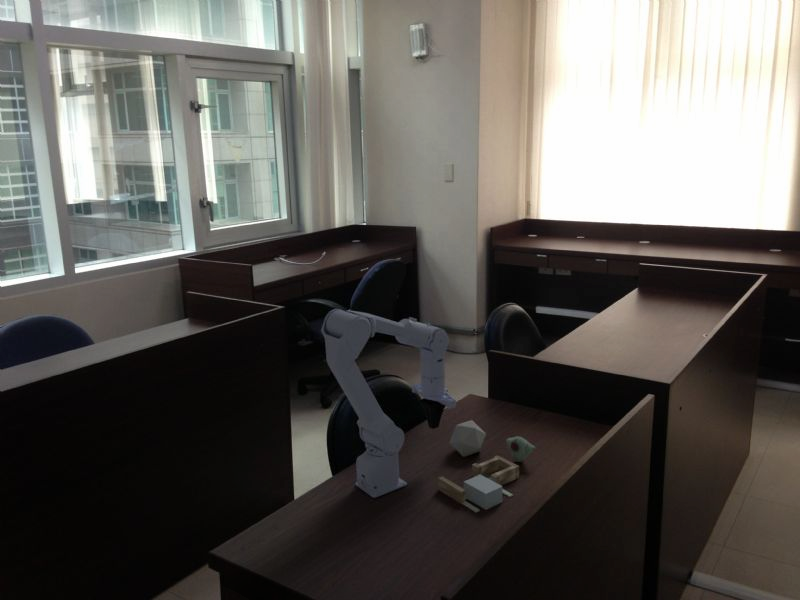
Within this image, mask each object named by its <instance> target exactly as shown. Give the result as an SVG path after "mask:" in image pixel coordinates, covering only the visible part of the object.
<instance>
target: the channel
mask: <svg viewBox="0 0 800 600" xmlns="http://www.w3.org/2000/svg"><path fill="white" fill-rule="evenodd" d="M478 475H482V476H484V477H486V478H488V479H490V480H492V481H493V482H495V483H497V484H499V485H501V486H504V485H506V484H509V483H511V482H513V481H514V480H515V481H516V480H517V479H519V478H520V465H518V464H516V463H514V462H512V461H510V460H508V459H506V458H504V457H502V456H500V455H497V454H496V455H495V456H493V458H490V459H489V460H486V461H483V462H481V463H477V462H475V463H473V464H471V476H472V478H473V477H475V476H478ZM437 480H438V483H437V485H438V491H440V492H441V493H443V494H445V495H446V496H448V497H449V498H451V499H453V500H454V501H455V502H457V503H459V504H460V505H463V504H462V503H463V502H465V501H466V502H467V499H466V490H465V489H464V487H461V486H459V485H458V484H457V483H455V482H453V481H451V480H450V479H447V478H446V477H444V476H440V477H438V479H437Z"/></svg>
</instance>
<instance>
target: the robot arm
mask: <svg viewBox="0 0 800 600" xmlns="http://www.w3.org/2000/svg"><path fill="white" fill-rule="evenodd" d="M417 320H418V319H417V318H414V317H411V316H409V317H408V318H402V319H401V320H399V321H398V322H397V321H394V320H391V319H388V318H385V317H381V316H377V315H374V314H373V313H372V314H371V313H368V312H363V311H357V310H356V311H355V310H350V309H349V310H348V309H347V310H346V311H345V310H343V309H340V308H335V309H331V310H330V311H328V313H326V315H325V317H324V319H323V323H322V326H321V329H320V331H321V334H322V336H323V338H324V342H325V343H324V344H325V354H326V355H325V356H326V362H327V365H328V367H329V369H330V371H331V373H332V374H333V376H334V378H335V379H336V380H337V383H338V385H339V386H340V388H341V389H342V392H343V393H344V395H345V396H346V398H347V400H348V402H349V404H350V405H351V407H352V408H353V411H354V412H355V413H356V415H357V417H358V420H357V422H356V424H357V426H358V428H359V437H360V439H361V440H362V441H363V442H364V445H365V447H364V448H366V449H365V451H364V452H363V453H362V454H361V455H359V456H357V458H356V463H355V467H356V468H355V469H356V482H355V486H356V487H358V488H359V489H360V490H362V491H363V492H365V493H366V494H367V495H369V496H370V497H371V498H373V499H376V498H378V497H380V496H382V495H386V494H388V493H390V492H393V491H396V490H398V489H401V488H404V487H406V486H407V485H408V483H407V482H406V481H405V480H403V479H401V478H400V467H399V466H400V465H399V452H400V451H401V448H402V447H403V445H404V443H405V433H404V430H402V428H400V427H398V426H396V424H395V422H394V421H393V420H392V419H391V418H390V417H389V416H388V415H387V414H386V413H384V411H383V409H382V408H381V405H380V404H379V403H378V401H377V398H376V397H375V395H374V393H373V392H372V390H371V388H370V386H369V385H368V383H367V380H366V379H365V376H364V375H363V373H362V372H361V370H360V368H359V366H358V365H357V363H356V361H355V360H357V359H358V357H359V356H360V354H361V352H362V350H364V347H366V344H367V343H368V341H369V339H370V338H373V337H375V334H376V333H380V334H385V335H389V336H393V337H395V340H396V341H397V342H398V343H400V344H402V345H407V346H411V347H415V348H419V350H420V351H419V354H420V358H419V359H420V382H417V383H413V384H412V385H411V392H412V393H413V394H414V393H415V394H416V393H418V395H420V397H421V398H422V399H419V401H418V403H419V405H420V406H421V408H422V410H423V412H424V415H425V417H426V420H427V421H426V422H427V425H428V427H429V429H431V430H434V429H437V428H439V427H440V423H441V419H442V417H443V413H444V411H445V408H446V409H448V410H452V409H454V408H456V407H457V402H456V401H457V399H456V398H454V397H452V396H451V395H450V394H449V393H448V391H449V389H448V388H447V387H446V380H445V378H446V376H445V375H446V373H445V358H446V356H447V348H448V346H449V344H450V337H449V336H448V333H447V332H446V330H445V329H444V328H440V327H438V326H434V325H432V324H431V323H430V322H428V321H427V322H426V321H425V322H424V323H423V322H419V321H417Z"/></svg>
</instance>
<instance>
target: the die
mask: <svg viewBox="0 0 800 600" xmlns="http://www.w3.org/2000/svg"><path fill="white" fill-rule="evenodd" d="M486 436H487V432H485V431H484V430H483V429H482V428H481V427H480V426H478V424H476V422H475V421H474V420H473V419H470V420H467V421H465V422H464V421H463V422H461V423H459V424H456V425H455V426H454V429H453V432H452V434H451V437H450V440H449V444H450V445H451V446H452V447H453V448H454V449H455V450H456V451H457V452H458V453H459V454H460V455H461V456H462V457H463V458H464V457H465V458H466V457H468V456H471V455H474V454H476V453H479V452H480V451H481V449H482V446H483V443H484V440H485V438H486Z"/></svg>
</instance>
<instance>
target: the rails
mask: <svg viewBox="0 0 800 600" xmlns="http://www.w3.org/2000/svg"><path fill="white" fill-rule="evenodd" d="M502 495H505V496H507V497H508V498H511V497H513V496H514V494H513V493H511V492H509V491H507V490H505V489H504V488H502ZM461 505H463V506H465V507H467V508H468V509H469V510H471V511H472V512H474V513H478V512H480V511H481V510H480V509H479V508H478V507H476V506H474V505H472V503H470V502H468V501H467V500H466V501H465V502H463V503H462V504H461Z"/></svg>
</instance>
